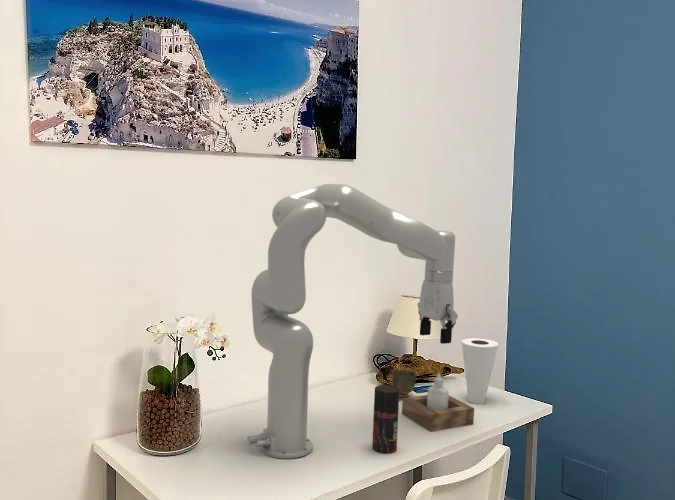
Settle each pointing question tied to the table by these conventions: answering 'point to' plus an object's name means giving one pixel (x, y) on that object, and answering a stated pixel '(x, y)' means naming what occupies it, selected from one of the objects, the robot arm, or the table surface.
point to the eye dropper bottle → (437, 395)
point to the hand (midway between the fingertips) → (435, 338)
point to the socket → (437, 413)
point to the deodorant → (385, 419)
